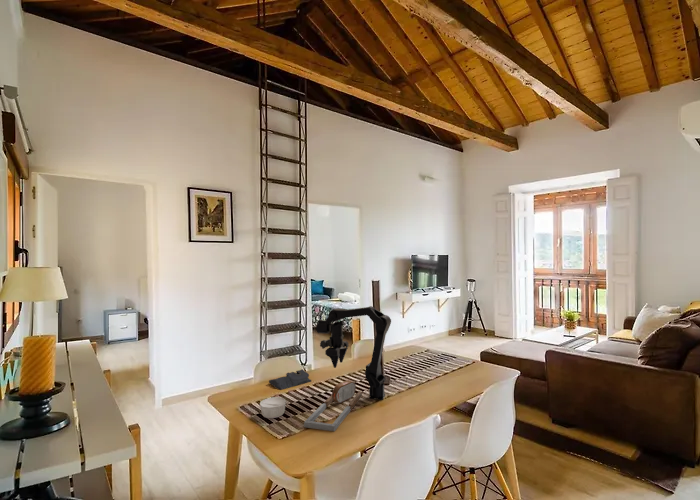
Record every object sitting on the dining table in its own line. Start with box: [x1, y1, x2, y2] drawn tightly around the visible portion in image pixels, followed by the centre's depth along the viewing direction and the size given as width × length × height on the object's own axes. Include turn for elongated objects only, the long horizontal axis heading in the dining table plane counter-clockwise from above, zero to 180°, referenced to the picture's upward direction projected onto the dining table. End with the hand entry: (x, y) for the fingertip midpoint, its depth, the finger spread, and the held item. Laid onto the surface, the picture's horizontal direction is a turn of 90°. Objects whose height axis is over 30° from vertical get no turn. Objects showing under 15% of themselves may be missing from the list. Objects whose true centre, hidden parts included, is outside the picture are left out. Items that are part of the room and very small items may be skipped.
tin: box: [331, 379, 357, 404], centre depth 178 cm, size 15×3×8 cm, turn 141°
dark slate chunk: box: [268, 369, 312, 391], centre depth 204 cm, size 15×22×5 cm
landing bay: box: [303, 402, 351, 432], centre depth 158 cm, size 13×20×2 cm, turn 162°
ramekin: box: [259, 396, 287, 419], centre depth 164 cm, size 11×11×5 cm
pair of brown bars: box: [324, 391, 363, 410], centre depth 177 cm, size 13×16×2 cm
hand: (338, 365), depth 189 cm, fingers open, 9 cm apart
